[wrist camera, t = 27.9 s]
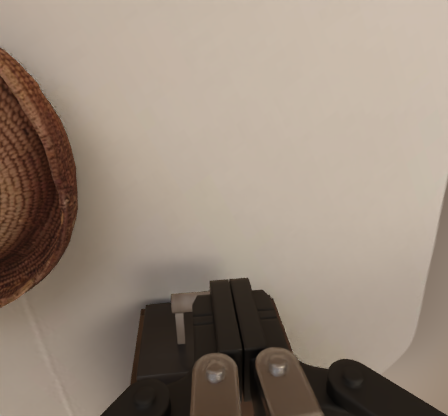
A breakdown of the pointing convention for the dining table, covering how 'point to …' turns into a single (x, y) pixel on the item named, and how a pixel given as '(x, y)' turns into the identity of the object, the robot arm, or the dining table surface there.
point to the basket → (31, 183)
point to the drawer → (168, 339)
